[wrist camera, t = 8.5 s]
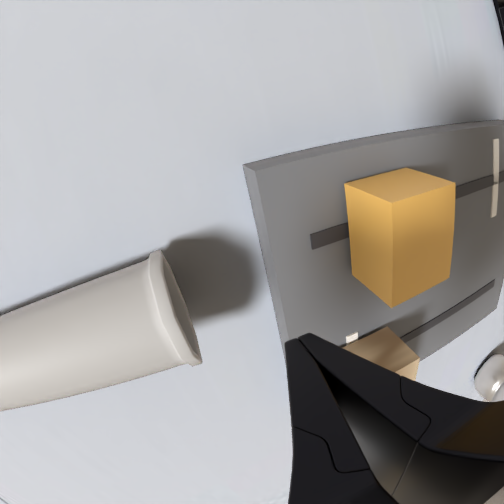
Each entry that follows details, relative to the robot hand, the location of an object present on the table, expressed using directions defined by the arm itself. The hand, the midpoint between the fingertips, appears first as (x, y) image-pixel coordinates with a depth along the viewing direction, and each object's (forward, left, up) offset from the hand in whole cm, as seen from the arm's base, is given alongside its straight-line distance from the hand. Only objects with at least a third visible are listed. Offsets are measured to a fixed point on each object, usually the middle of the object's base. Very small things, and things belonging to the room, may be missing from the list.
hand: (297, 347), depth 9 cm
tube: (+16, +2, -9) cm, 18 cm away
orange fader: (-7, 0, -6) cm, 9 cm away
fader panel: (-12, +5, -8) cm, 16 cm away
